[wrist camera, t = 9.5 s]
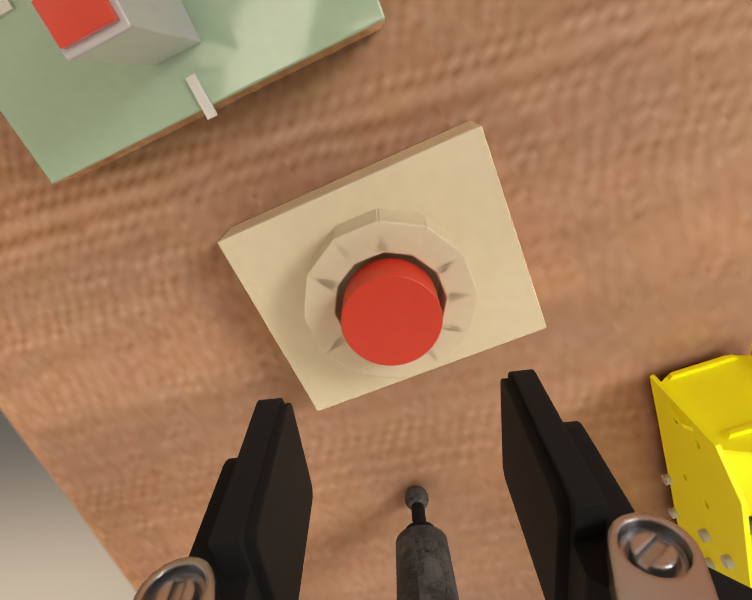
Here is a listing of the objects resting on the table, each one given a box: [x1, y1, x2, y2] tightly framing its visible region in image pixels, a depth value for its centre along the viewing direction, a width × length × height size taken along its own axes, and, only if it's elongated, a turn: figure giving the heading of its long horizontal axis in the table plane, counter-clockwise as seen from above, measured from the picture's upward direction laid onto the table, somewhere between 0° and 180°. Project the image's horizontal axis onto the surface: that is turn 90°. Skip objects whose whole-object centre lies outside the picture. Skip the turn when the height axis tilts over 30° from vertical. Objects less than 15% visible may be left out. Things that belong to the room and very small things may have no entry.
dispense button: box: [341, 258, 443, 366], centre depth 18 cm, size 4×4×2 cm
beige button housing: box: [218, 121, 546, 411], centre depth 20 cm, size 11×9×4 cm
